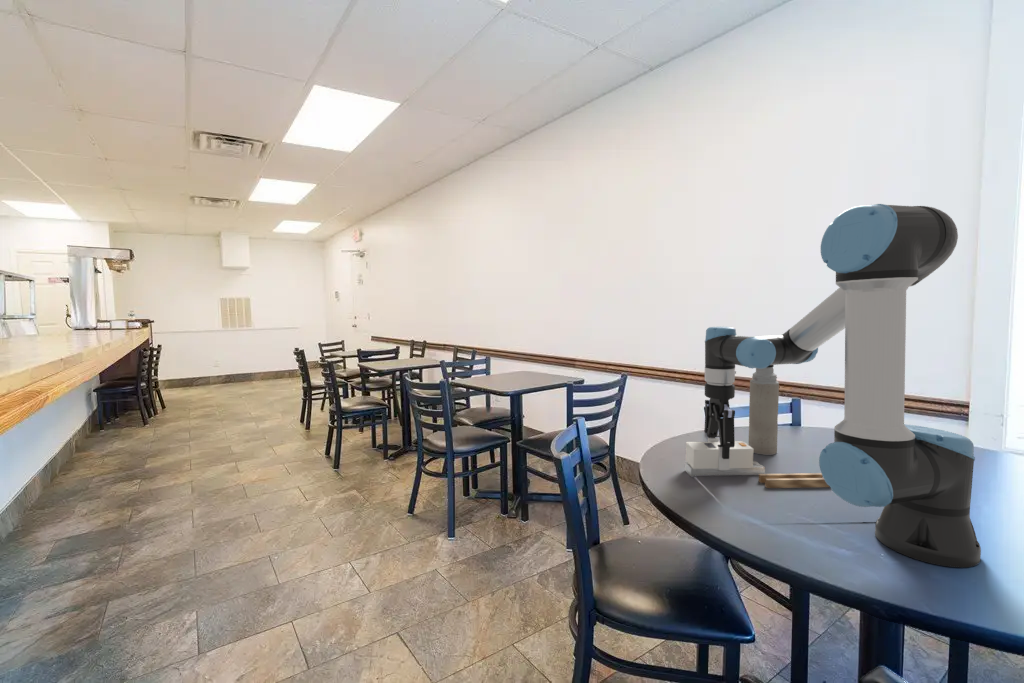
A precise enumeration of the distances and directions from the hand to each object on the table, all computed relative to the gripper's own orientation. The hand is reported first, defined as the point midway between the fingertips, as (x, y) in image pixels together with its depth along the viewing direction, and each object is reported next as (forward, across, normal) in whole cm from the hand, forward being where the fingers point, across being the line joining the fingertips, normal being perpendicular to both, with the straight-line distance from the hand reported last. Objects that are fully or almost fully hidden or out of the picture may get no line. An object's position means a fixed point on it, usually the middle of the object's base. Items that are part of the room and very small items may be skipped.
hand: (718, 464), depth 126 cm
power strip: (+2, 0, 0) cm, 2 cm away
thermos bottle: (+3, +18, -22) cm, 28 cm away
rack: (+3, -9, -16) cm, 18 cm away
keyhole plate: (+3, 0, -2) cm, 3 cm away
